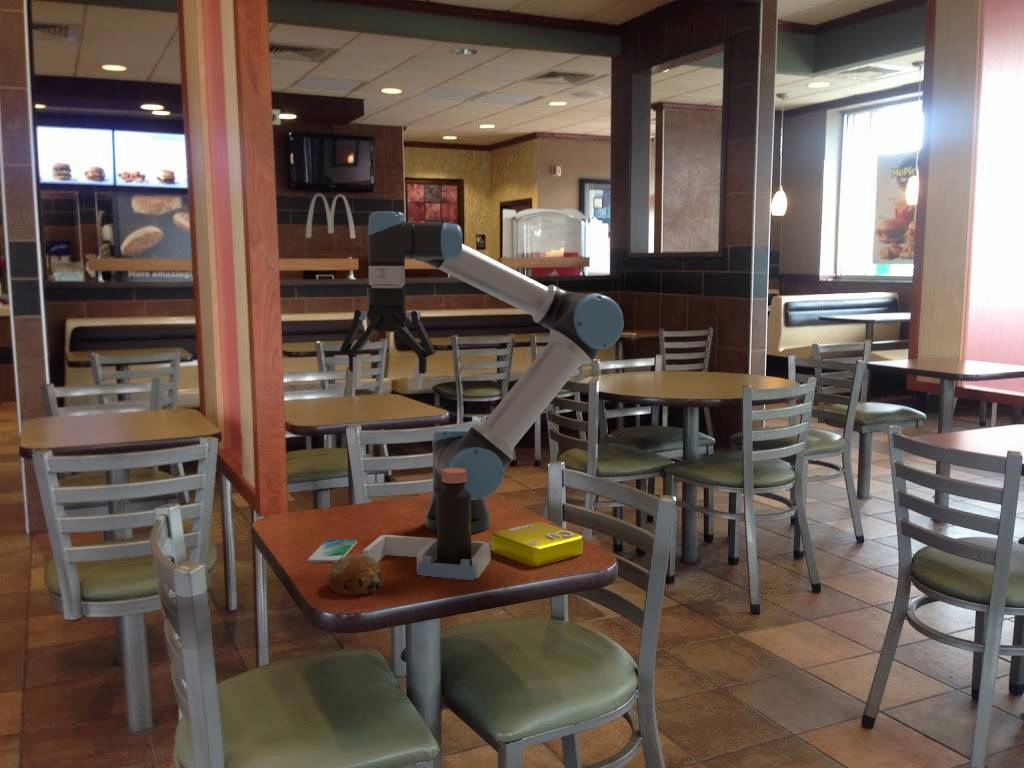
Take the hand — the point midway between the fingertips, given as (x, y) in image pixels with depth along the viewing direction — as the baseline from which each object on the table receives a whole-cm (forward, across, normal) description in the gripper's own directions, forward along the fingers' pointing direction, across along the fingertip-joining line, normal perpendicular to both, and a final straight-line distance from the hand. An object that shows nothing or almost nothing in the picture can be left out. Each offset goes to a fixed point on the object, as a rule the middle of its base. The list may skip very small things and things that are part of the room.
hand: (387, 388), depth 189 cm
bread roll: (+35, +2, -25) cm, 43 cm away
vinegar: (+35, +17, -10) cm, 40 cm away
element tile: (+35, +32, +4) cm, 48 cm away
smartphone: (+35, -11, -5) cm, 37 cm away
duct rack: (+35, +12, -10) cm, 38 cm away
